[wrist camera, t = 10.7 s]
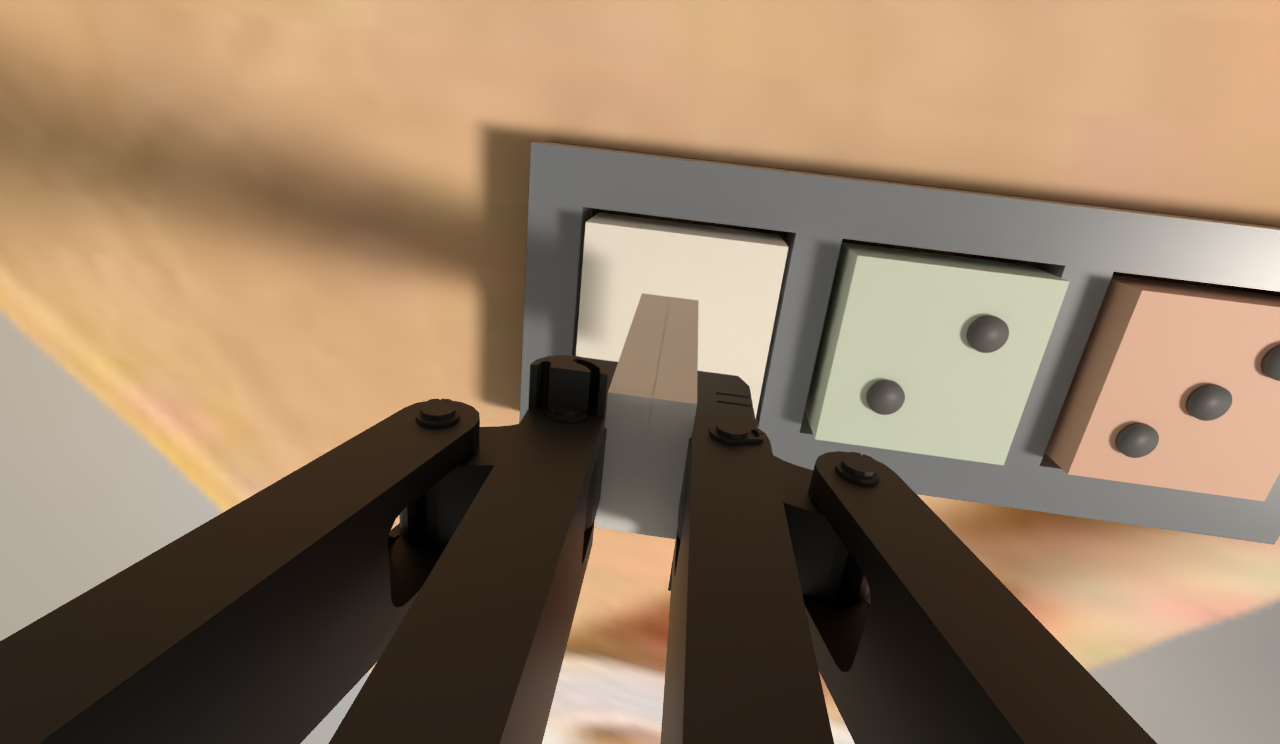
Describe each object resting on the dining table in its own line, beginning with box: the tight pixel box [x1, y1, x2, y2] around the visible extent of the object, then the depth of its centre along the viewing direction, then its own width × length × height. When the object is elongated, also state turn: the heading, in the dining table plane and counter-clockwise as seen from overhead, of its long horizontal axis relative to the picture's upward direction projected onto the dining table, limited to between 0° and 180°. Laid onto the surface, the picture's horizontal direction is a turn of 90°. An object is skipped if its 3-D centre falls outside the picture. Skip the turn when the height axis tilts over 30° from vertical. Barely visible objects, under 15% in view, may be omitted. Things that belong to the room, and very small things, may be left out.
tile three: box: [1045, 275, 1280, 501], centre depth 20 cm, size 6×6×3 cm
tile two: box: [804, 242, 1070, 465], centre depth 20 cm, size 6×6×3 cm
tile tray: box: [519, 142, 1280, 544], centre depth 21 cm, size 26×10×2 cm, turn 84°
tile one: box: [576, 212, 788, 419], centre depth 21 cm, size 6×6×3 cm
